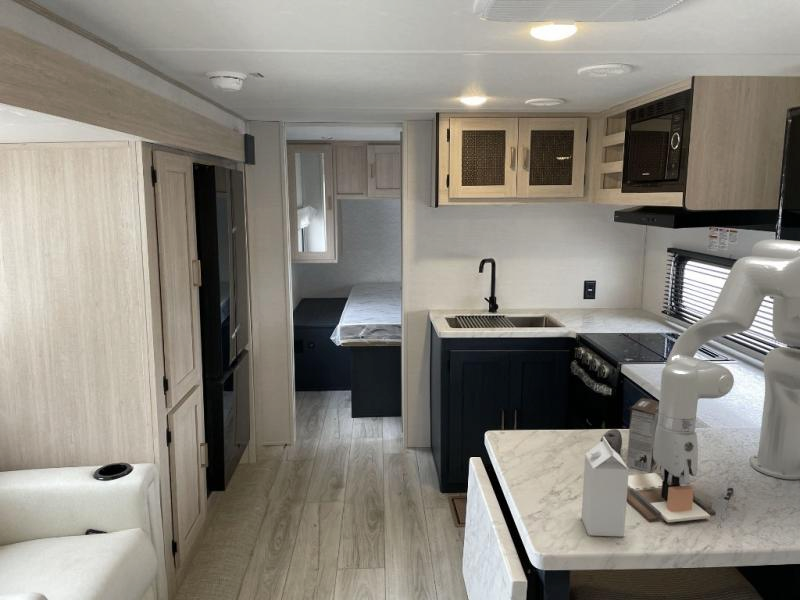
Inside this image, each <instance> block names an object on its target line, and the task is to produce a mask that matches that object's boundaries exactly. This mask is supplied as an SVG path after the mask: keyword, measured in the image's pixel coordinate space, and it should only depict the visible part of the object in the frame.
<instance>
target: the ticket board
mask: <svg viewBox="0 0 800 600" xmlns="http://www.w3.org/2000/svg"><path fill="white" fill-rule="evenodd" d="M662 481H664V480H662V479H661V472H653V473H652V472H651V473H650V472H649V473H642V474H630V475H628V488H627V501H626V503H628V504H629V505H630V507H632V508H633V509H634V510H635V511H636V512H638V513H639V514H640V515H641V516H642V517H643V518H644V519H645V520H646V521H648V523H656V522H664V521H665V522H667V521H666V520H665V519H664V518H662V517H661V512H660V511H659V510H657V509H656V508H655V507H654V506H653V505H652V504H651V503H656V502H666V500H665V499H664V498H662V497H661V493H662ZM680 486H682V484H680ZM693 502H694V503H695V504H696V505H698V506H699V507H700V508H702V509H703V510H704V511H705V512H707V513H708V514H709V515H710V517H712V515H716V511H714V510H713V509H712V507H710V505H708V504H706V502H704V501H703V500H701V499H699V498H698V497H697V496H696V495H695V494H693Z"/></svg>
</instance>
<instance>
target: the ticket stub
mask: <svg viewBox="0 0 800 600" xmlns="http://www.w3.org/2000/svg"><path fill="white" fill-rule="evenodd" d="M694 489H695V488H693V487H692V485H689V484H686V485H681V486H676V487H669V488H668V499H667V501H666V502H656V503H651V504H652V505H653V506H654V507H655V508H656V509H657V510H659V511H660V512H661V517H662V518H664V519H665V520H666V521H665V522H667V523H675V522H685V521H693V520H703V519H710V518H711V516H710V515H709V514H708V513H707V512H705V511H704V510H703V509H702V508H700V507H699V506H698V505H696V504H695V503H694V502H693V495H694V491H695V490H694Z"/></svg>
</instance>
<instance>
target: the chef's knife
mask: <svg viewBox="0 0 800 600" xmlns="http://www.w3.org/2000/svg"><path fill="white" fill-rule="evenodd" d="M726 490H727V492H726V495H725V496H724V498H713V501H712V503H711V508H712V509H713V510H714V511H716V515H712V516H711V517H712V518H713V520H714V521H715V522H719V521H720V519H721V518H722V515H723V514H724V511H725V510H726V507H727V505H728V503H729V500H730V499H731V498H732V495H733V493H734V488H733V487H727V489H726Z"/></svg>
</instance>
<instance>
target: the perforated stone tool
mask: <svg viewBox="0 0 800 600" xmlns="http://www.w3.org/2000/svg"><path fill="white" fill-rule="evenodd" d="M603 436H604V437H605V439H606V441H607V442H608V444H609V445H610V447H611V448H612V449H613V450H614V451H615V452H617V453H618V454H619V455H620V453H621V450H622V448H623V447H622V446H623V437H622V433H621V431H620V430H618V429H616V428H613V429H610V430H608V431H607V432H605V433H604V434H603V435H602V436H601V439H600V442H602V441H603Z"/></svg>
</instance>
